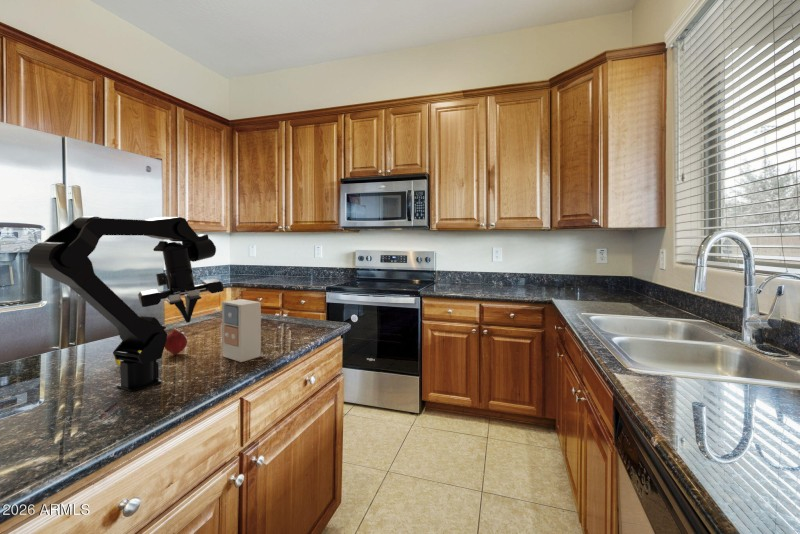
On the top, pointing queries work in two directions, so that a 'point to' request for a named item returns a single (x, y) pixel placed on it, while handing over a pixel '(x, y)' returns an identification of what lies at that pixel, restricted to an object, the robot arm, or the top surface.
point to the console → (244, 331)
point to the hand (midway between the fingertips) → (187, 322)
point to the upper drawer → (231, 314)
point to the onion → (175, 342)
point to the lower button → (231, 335)
